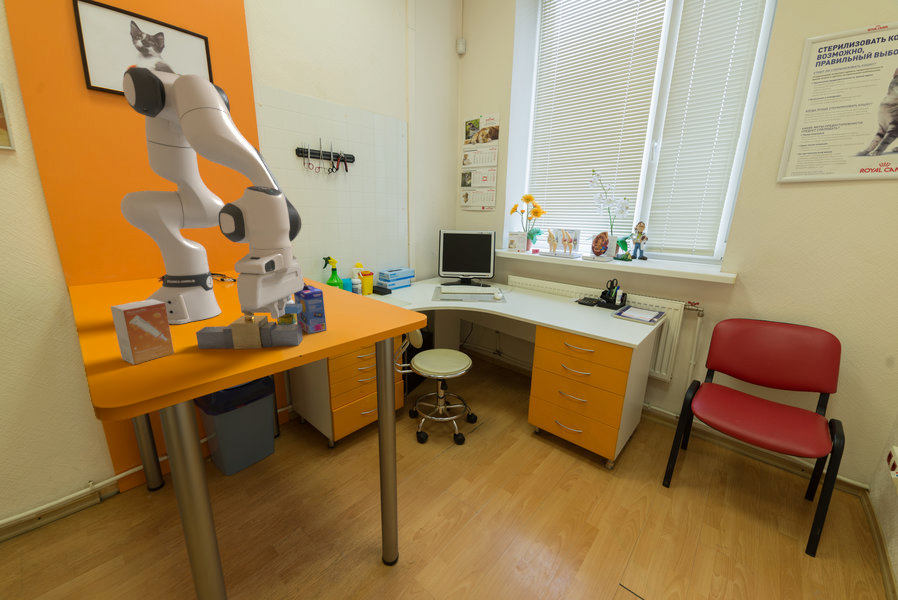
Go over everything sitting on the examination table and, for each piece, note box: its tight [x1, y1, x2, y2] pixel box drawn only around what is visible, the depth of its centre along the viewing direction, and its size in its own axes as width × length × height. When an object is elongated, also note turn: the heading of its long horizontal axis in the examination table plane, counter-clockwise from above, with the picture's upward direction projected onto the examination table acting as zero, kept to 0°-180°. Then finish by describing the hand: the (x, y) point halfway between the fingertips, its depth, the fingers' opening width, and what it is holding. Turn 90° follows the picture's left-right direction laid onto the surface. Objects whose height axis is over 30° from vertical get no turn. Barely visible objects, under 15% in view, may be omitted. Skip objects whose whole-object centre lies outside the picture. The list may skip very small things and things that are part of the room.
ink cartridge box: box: [293, 282, 328, 334], centre depth 104 cm, size 10×6×14 cm, turn 43°
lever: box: [240, 304, 302, 314], centre depth 91 cm, size 15×3×2 cm, turn 93°
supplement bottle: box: [276, 294, 297, 325], centre depth 107 cm, size 5×5×10 cm
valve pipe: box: [195, 313, 304, 350], centre depth 92 cm, size 24×6×9 cm, turn 98°
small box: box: [110, 299, 175, 366], centre depth 83 cm, size 8×6×13 cm
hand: (278, 316), depth 85 cm, fingers closed
